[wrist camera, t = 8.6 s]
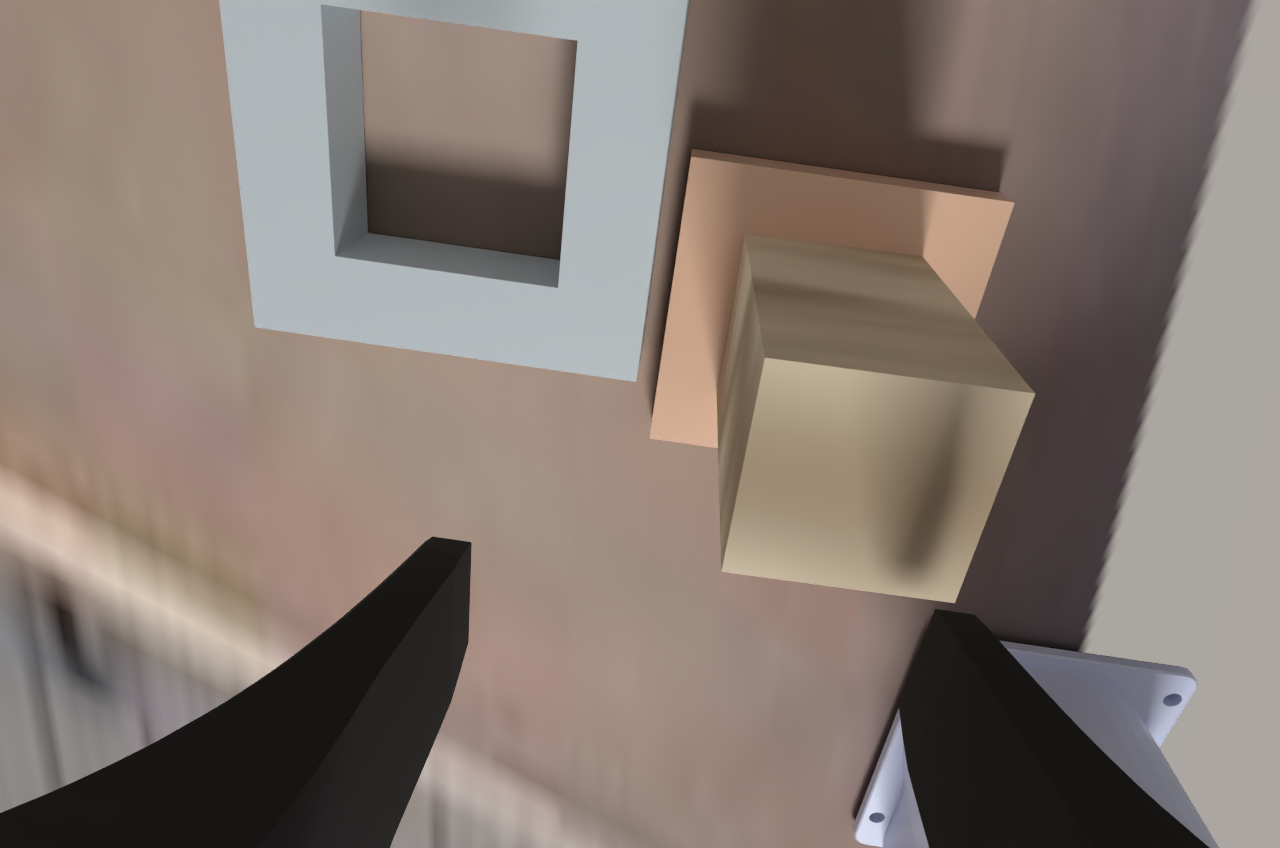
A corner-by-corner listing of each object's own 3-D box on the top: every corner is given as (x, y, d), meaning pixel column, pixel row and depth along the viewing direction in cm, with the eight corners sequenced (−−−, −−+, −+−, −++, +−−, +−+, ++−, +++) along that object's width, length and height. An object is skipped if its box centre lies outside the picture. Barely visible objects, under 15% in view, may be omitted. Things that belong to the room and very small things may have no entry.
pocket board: (642, 348, 21) (636, 381, 19) (293, 298, 21) (254, 327, 19) (697, -60, 16) (697, -66, 15) (258, -121, 16) (204, -135, 15)
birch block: (877, 415, 20) (954, 603, 14) (716, 393, 20) (721, 571, 14) (923, 256, 18) (1035, 394, 12) (744, 233, 18) (764, 357, 12)
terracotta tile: (911, 457, 22) (920, 477, 21) (651, 420, 22) (649, 438, 21) (999, 192, 18) (1014, 202, 17) (691, 149, 18) (691, 156, 17)
